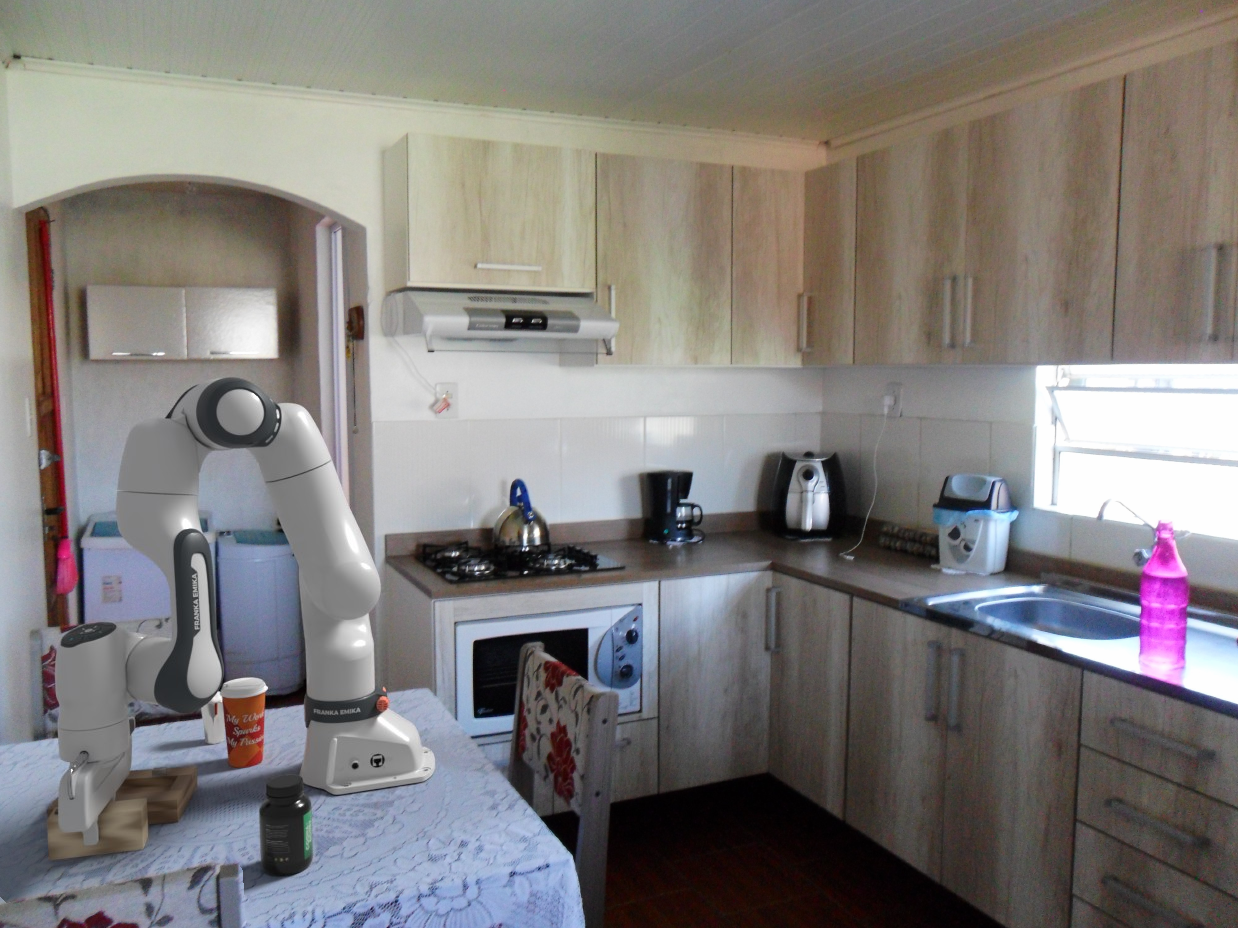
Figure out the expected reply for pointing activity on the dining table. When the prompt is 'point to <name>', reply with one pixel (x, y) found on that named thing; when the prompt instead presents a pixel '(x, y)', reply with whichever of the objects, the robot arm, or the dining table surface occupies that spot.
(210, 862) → the dining table surface
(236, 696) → the paper cup
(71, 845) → the door
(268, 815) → the supplement bottle
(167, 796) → the frame
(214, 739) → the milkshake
